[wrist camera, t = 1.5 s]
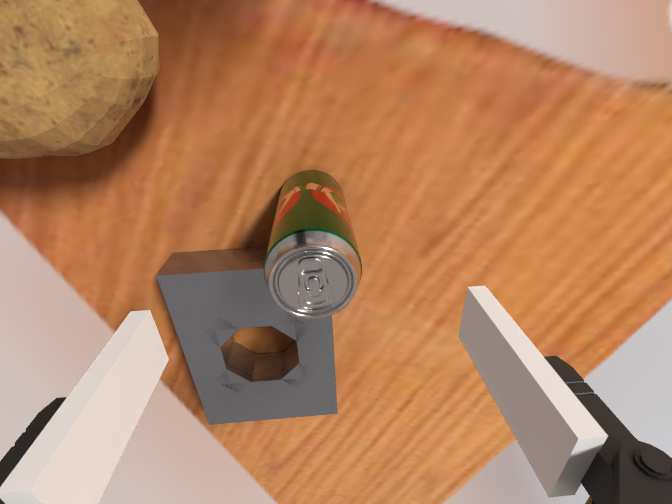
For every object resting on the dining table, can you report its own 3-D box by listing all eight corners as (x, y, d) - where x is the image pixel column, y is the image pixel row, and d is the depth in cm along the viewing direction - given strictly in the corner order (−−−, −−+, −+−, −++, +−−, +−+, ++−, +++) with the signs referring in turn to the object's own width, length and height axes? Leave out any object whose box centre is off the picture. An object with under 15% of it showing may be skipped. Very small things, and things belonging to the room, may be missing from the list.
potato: (217, 111, 23) (177, 130, 16) (33, 166, 24) (-79, 207, 17) (141, -73, 18) (39, -158, 11) (-84, 5, 19) (-305, -30, 12)
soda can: (286, 231, 28) (272, 331, 17) (274, 172, 25) (249, 246, 15) (346, 223, 28) (368, 318, 18) (339, 163, 25) (360, 231, 15)
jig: (172, 252, 28) (156, 275, 25) (326, 242, 29) (329, 264, 26) (217, 394, 37) (209, 424, 34) (335, 385, 37) (337, 413, 34)
